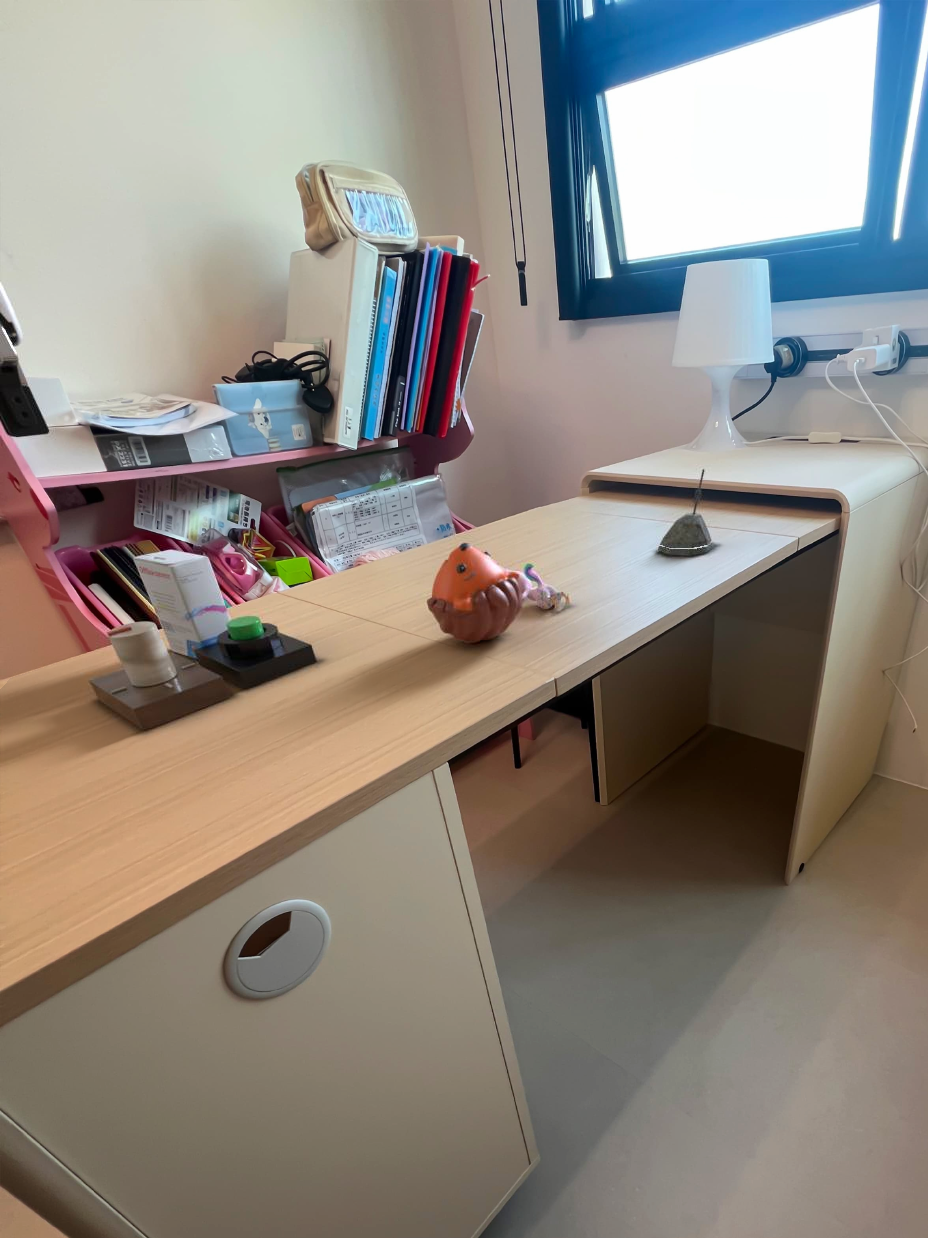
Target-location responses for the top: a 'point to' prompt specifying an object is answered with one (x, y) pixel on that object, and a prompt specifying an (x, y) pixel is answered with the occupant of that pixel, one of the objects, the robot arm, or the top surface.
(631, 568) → the top surface
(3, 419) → the robot arm
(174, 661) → the dimmer panel
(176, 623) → the ink box
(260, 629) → the green button
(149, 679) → the dimmer knob
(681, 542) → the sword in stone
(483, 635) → the orange toy creature
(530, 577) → the pink plastic figure
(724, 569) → the top surface
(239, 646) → the switch box
